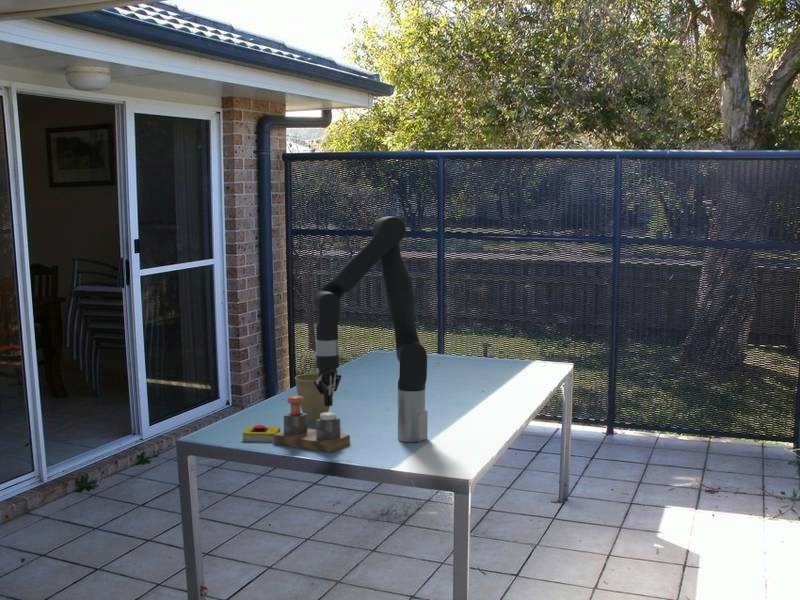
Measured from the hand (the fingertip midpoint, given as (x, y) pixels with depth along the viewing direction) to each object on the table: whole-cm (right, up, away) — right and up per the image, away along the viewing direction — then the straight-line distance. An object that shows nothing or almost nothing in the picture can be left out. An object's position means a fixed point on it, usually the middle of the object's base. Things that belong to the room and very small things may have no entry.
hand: (328, 405), depth 262 cm
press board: (-6, -13, +4) cm, 15 cm away
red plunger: (-12, -5, +7) cm, 14 cm away
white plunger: (0, -9, +1) cm, 10 cm away
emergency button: (-23, -13, +12) cm, 29 cm away
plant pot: (-8, -10, +36) cm, 38 cm away
